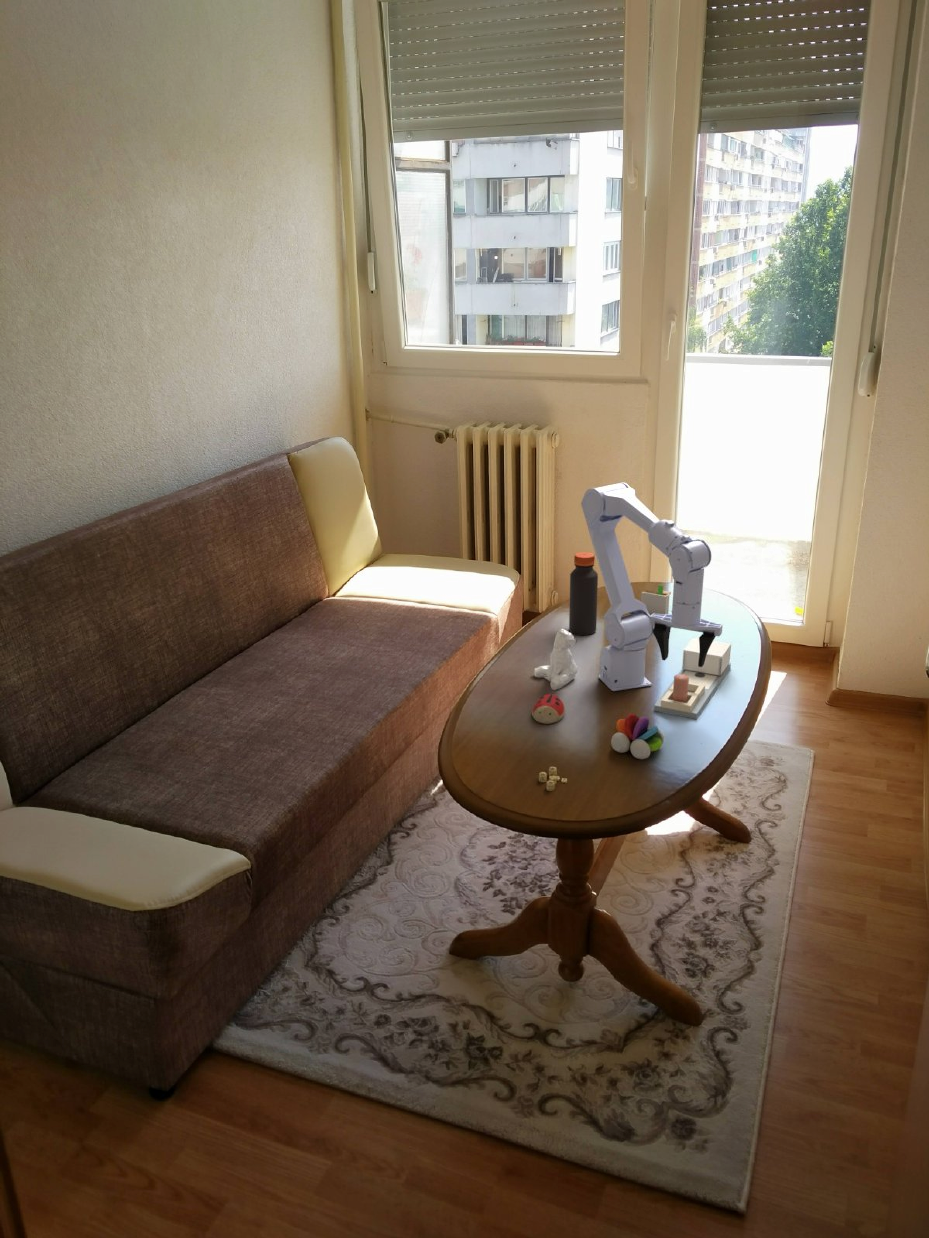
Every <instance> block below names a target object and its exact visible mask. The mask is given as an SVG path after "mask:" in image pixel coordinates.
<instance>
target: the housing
mask: <svg viewBox="0 0 929 1238" xmlns="http://www.w3.org/2000/svg"><path fill="white" fill-rule="evenodd" d="M731 647H732V643H728V642H723V641H722V642H721V641H716V640H713V642H712V644H711V646H710V648H709V650H708V652H707V655H706V658H705V663H704V665H703V666H702V667H698V661H699V653H700V645H699V638H697V637H692V639H691V640H690V641H689V642H688V644H687V645H686V646H685V647H684V648H683V652H682V667H681V668H682V669H686V670H691V671H697V672H702V673H708V674H714V675H719V676H721V674H722V673H723V671H724V670H725V668H726V667H727V665H728V664H729V663H730V659H731ZM682 669H681V670H682Z"/></svg>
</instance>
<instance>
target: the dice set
mask: <svg viewBox="0 0 929 1238" xmlns="http://www.w3.org/2000/svg"><path fill="white" fill-rule="evenodd" d="M557 772H558V770H557V767H556V766H549V768H548V774H547V772H545V771H541V772H539V773H538V782H540V783H545V782H546V785H545V788H546V791H549V792H551V791H552V792H553V791H554V790H555V785H556V784H557V782H558V781H561V784H567V783H568V778H566V777H565V778H563V777H562V778H560V776H559V775H557V774H558V773H557ZM548 776H549V777H548Z"/></svg>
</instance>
